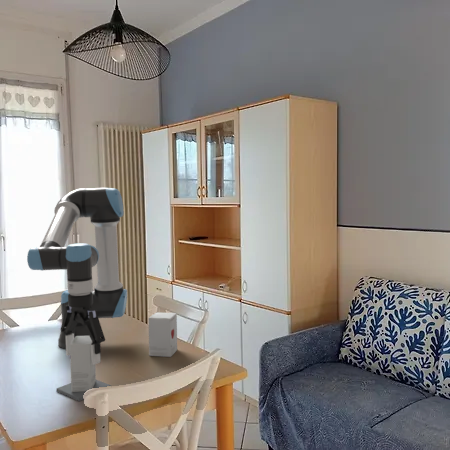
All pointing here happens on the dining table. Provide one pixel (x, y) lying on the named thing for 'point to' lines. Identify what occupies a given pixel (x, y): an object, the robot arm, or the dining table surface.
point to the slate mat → (78, 395)
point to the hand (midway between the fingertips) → (83, 358)
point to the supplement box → (163, 334)
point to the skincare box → (82, 364)
